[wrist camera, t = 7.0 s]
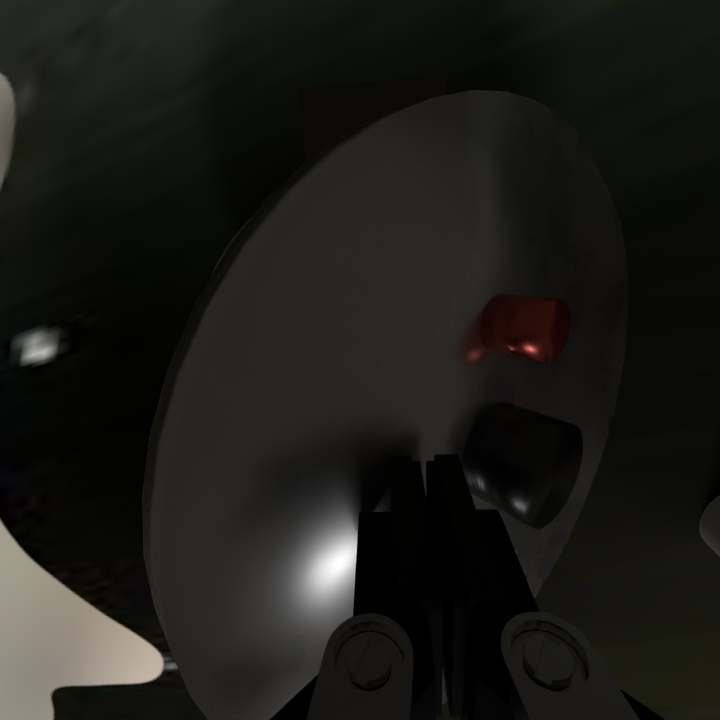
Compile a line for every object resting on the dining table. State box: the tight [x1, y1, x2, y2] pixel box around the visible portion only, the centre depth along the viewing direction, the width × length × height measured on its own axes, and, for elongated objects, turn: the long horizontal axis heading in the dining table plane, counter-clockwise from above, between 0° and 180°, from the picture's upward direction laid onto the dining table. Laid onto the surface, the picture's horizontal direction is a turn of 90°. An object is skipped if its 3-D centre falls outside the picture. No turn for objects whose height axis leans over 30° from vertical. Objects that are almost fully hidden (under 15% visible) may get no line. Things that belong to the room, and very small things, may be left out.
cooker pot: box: [211, 76, 447, 276], centre depth 25 cm, size 24×20×12 cm
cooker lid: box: [142, 90, 628, 720], centre depth 13 cm, size 19×19×3 cm
